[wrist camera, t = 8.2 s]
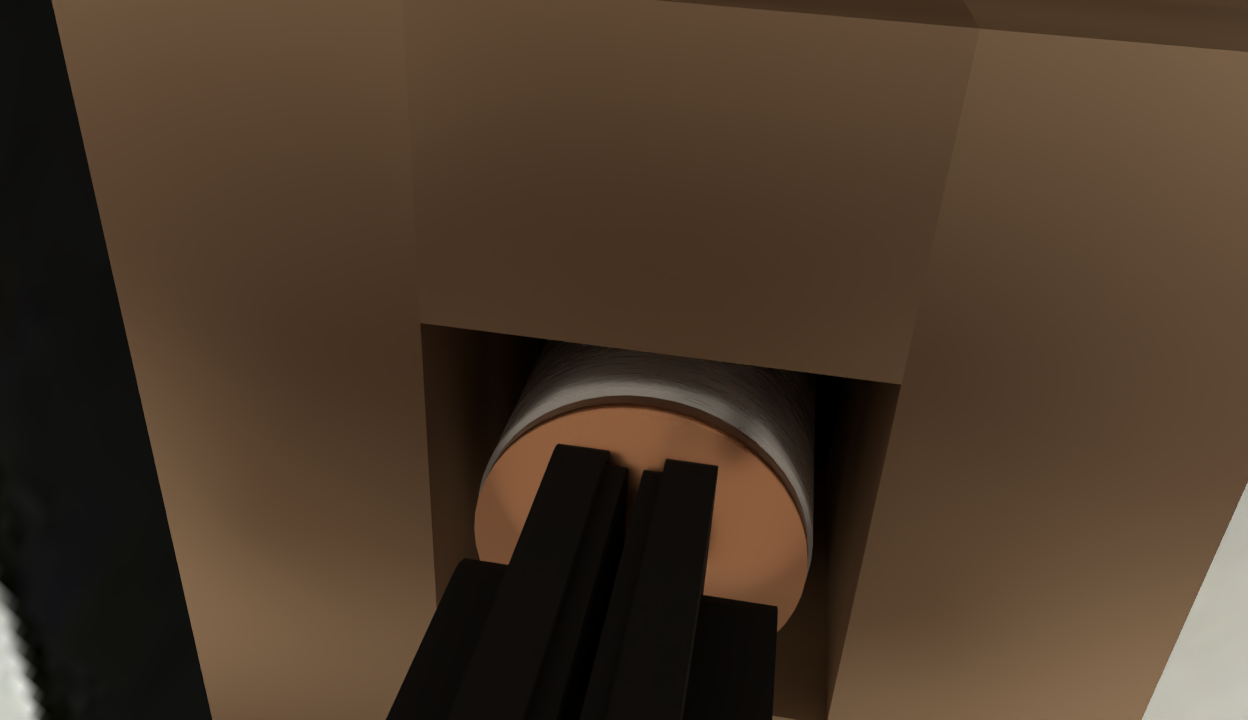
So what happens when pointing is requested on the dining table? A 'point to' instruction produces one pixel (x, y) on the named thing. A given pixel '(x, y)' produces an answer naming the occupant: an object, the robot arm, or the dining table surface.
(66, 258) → the dining table surface
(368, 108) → the socket block
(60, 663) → the dining table surface
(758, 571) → the plunger
